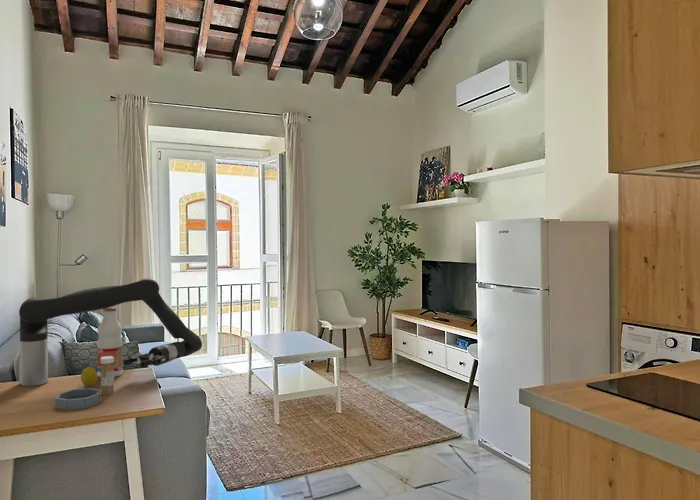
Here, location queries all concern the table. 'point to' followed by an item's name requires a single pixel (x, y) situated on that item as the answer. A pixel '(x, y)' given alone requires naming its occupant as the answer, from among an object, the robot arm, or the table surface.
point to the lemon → (89, 376)
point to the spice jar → (107, 375)
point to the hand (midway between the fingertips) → (132, 363)
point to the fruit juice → (110, 340)
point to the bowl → (78, 398)
